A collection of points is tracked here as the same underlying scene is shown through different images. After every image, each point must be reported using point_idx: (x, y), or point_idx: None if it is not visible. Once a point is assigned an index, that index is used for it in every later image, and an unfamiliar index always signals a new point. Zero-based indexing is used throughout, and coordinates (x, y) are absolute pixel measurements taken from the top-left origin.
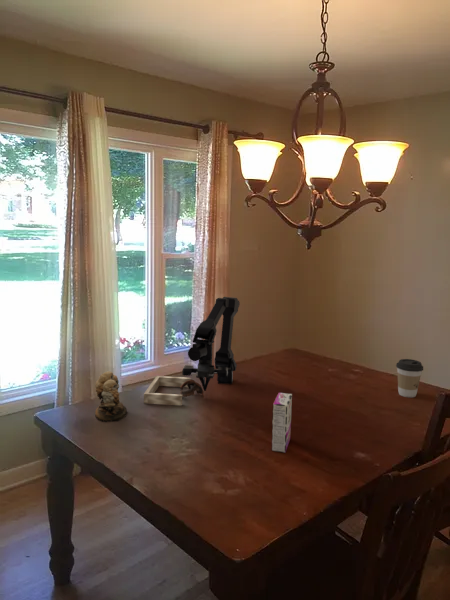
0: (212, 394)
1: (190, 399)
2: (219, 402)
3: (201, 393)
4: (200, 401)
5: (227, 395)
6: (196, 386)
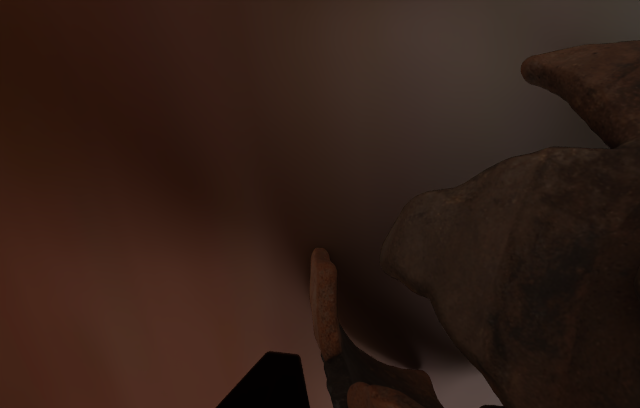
0: (214, 356)
1: None
2: (33, 67)
3: (355, 348)
4: (358, 80)
5: (33, 328)
6: (554, 351)
